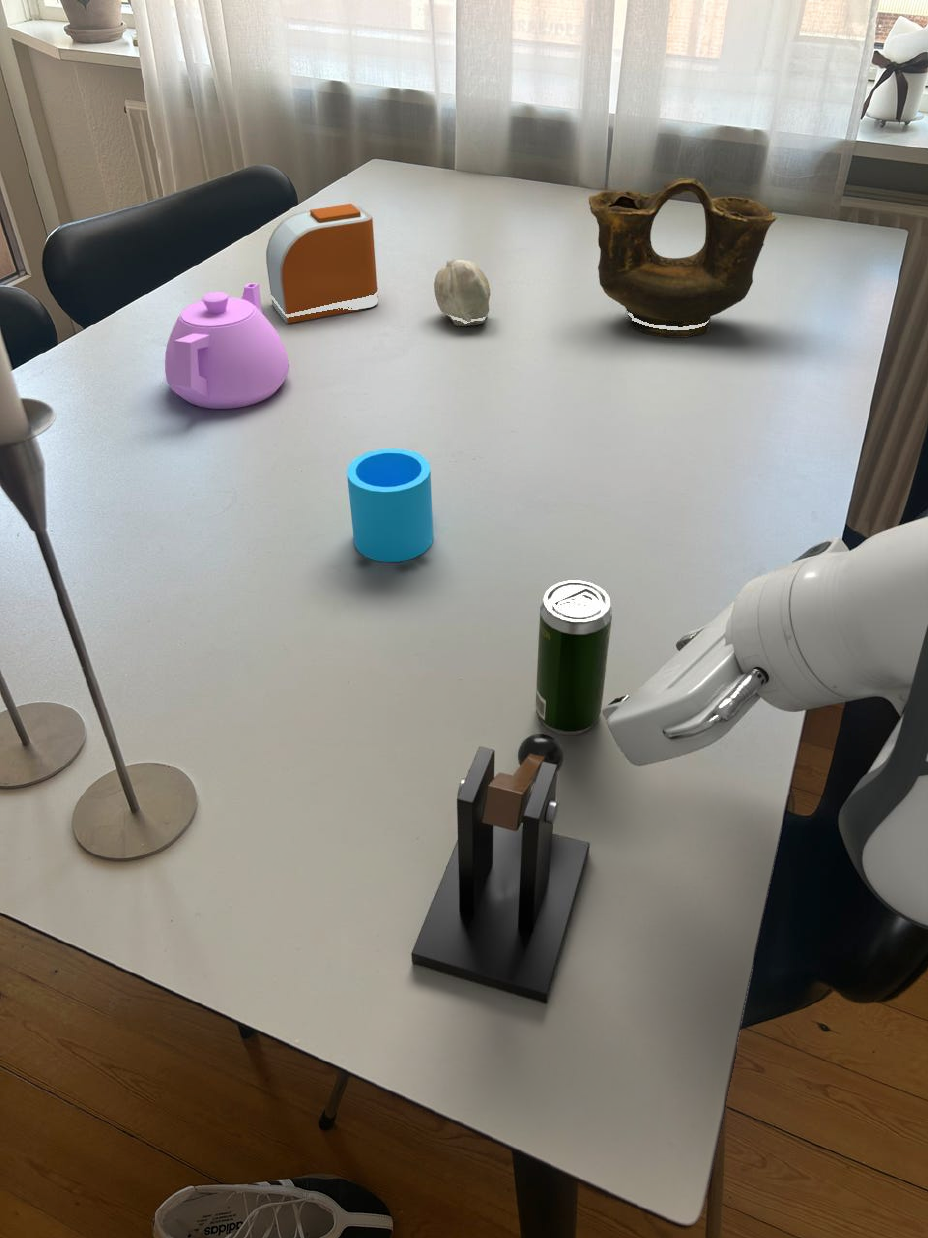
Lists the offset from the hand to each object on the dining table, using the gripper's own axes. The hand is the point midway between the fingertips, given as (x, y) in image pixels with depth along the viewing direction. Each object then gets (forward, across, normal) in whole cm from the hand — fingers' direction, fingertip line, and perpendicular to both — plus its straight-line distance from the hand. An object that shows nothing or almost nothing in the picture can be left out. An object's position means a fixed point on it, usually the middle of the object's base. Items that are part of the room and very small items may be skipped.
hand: (649, 680), depth 71 cm
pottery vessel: (+37, +72, +25) cm, 85 cm away
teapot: (+60, +18, +48) cm, 79 cm away
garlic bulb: (+54, +54, +42) cm, 87 cm away
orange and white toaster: (+67, +45, +56) cm, 98 cm away
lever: (+1, -14, 0) cm, 14 cm away
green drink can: (+11, 0, -1) cm, 11 cm away
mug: (+31, +10, +20) cm, 38 cm away
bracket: (+5, -18, -6) cm, 19 cm away
